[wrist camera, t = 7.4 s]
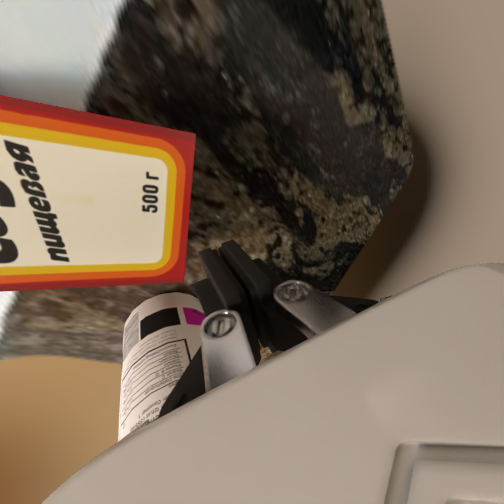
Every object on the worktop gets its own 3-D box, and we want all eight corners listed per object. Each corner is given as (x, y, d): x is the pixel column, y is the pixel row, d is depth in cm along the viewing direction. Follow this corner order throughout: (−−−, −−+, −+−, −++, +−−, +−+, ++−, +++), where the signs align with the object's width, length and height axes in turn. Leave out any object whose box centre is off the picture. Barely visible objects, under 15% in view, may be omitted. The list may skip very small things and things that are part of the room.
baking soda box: (178, 133, 20) (-146, 70, 13) (195, 133, 14) (-353, 25, 7) (172, 246, 23) (-88, 244, 16) (183, 282, 18) (-200, 301, 11)
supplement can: (214, 289, 27) (286, 428, 14) (199, 351, 29) (248, 515, 17) (129, 286, 23) (123, 473, 10) (120, 358, 25) (107, 576, 13)
